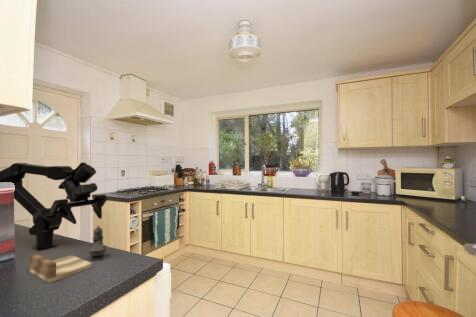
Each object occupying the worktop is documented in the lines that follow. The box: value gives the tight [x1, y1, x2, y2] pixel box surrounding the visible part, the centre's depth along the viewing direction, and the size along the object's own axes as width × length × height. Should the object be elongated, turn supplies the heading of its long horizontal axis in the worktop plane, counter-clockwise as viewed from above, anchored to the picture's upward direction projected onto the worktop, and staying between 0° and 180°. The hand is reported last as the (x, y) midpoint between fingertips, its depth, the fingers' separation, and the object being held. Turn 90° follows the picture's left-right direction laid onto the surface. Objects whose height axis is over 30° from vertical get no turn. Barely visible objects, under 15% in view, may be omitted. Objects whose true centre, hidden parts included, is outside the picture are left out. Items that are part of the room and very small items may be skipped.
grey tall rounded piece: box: [88, 225, 108, 262], centre depth 84 cm, size 6×6×12 cm
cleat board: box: [28, 253, 94, 284], centre depth 75 cm, size 14×12×5 cm
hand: (88, 220), depth 88 cm, fingers open, 9 cm apart
